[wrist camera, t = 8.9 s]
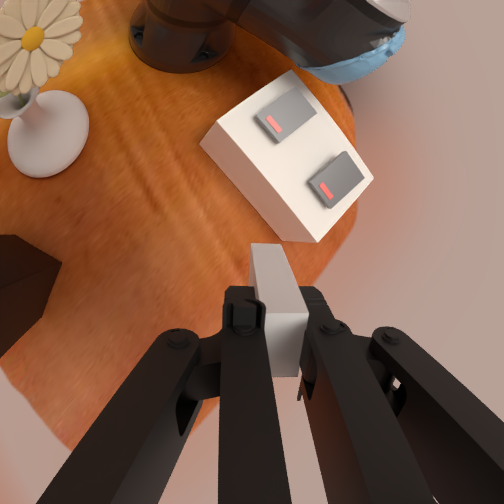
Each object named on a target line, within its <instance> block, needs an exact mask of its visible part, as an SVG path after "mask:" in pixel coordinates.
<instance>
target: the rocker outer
mask: <svg viewBox="0 0 504 504" xmlns="http://www.w3.org/2000/svg"><path fill="white" fill-rule="evenodd" d="M364 178H365V177H364V176H363V174H362V173H361V171H360V170H359V168H358V167H357V165H356V164H355V163H354V161H353V160H352V158H351V157H350V155H349V154H348V153H347V151H342V152H341V153H340V154H339V155H338V156H336V157H335V158H334V159H333V160H332V161H331V162H329V163H328V164H327V165H326V166H325V167H324V168H322V169H321V170H320V171H319V172H318V173H317V174H315V175H314V176H313V177H312V178H311V179H310V180H309V181H307V182H308V184H309V185H310V186H311V188H312V189H313V190H314V191H315V193H316V194H317V195H318V197H319V198H320V199H321V201H322V202H323V203H324V205H325V206H326V207H327V208H328V209H332V208H333V207H334V206H335V205H336V204H337V203H338V202H339V201H340V200H342V199H343V198H344V197H345V196H346V195H347V194H348V193H349V192H350V191H351V190H352V189H353V188H355V187H356V186H357V185H358V184H359V183H360V182H361V181H362V180H363V179H364Z"/></svg>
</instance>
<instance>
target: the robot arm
mask: <svg viewBox="0 0 504 504" xmlns="http://www.w3.org/2000/svg"><path fill="white" fill-rule="evenodd" d="M410 1H411V0H142V1H141V3H140V4H139V6H138V7H137V9H136V10H135V12H134V14H133V16H132V18H131V21H130V27H129V41H130V44H131V47H132V49H133V51H134V52H135V54H136V55H137V56H138V57H139V58H140V59H141V60H142V61H143V62H145V63H146V64H148V65H150V66H152V67H154V68H156V69H159V70H162V71H166V72H172V73H191V72H197V71H201V70H204V69H206V68H209V67H211V66H213V65H214V64H216V63H217V62H219V61H220V60H221V59H222V58H223V57H224V56H225V55H226V53H227V52H228V50H229V48H230V47H231V45H232V43H233V41H234V38H235V34H236V25H238V26H240V27H241V28H243V29H245V30H246V31H248V32H250V33H251V34H253V35H255V36H256V37H258V38H259V39H261V40H263V41H264V42H266V43H267V44H269V45H270V46H272V47H274V48H275V49H277V50H278V51H280V52H281V53H283V54H284V55H285V56H287V57H288V58H290V59H291V60H293V61H294V63H295V65H296V66H298V67H299V68H301V69H303V70H307V71H308V72H309V73H311V74H312V75H314V76H315V77H317V78H318V79H320V80H321V81H323V82H326V83H329V84H334V85H339V84H346V83H349V82H353V81H355V80H357V79H360V78H362V77H364V76H366V75H368V74H369V73H371V72H373V71H374V70H376V69H377V68H379V67H380V66H382V65H383V64H384V63H385V62H386V61H387V58H388V57H390V56H392V55H394V54H395V53H396V52H397V51H398V50H399V48H400V47H401V46H402V44H403V42H404V40H405V30H404V28H403V24H404V23H406V22H407V21H408V20H409V19H410ZM299 367H300V368H301V371H302V377H301V382H300V387H299V391H298V396H297V401H300V399H301V395H303V399H304V403H305V407H306V411H307V415H308V420H309V424H310V428H311V433H312V436H313V440H314V445H315V449H316V454H317V457H318V462H319V466H320V471H321V475H322V479H323V483H324V488H325V492H326V497H327V501H328V504H438V503H439V504H504V422H503V421H502V420H501V419H499V418H498V417H497V416H496V415H495V414H494V413H493V412H492V411H491V410H490V409H489V408H488V407H487V406H486V405H485V404H484V403H482V402H481V401H480V400H479V399H478V398H477V397H476V396H475V395H474V394H473V393H472V392H471V391H469V390H468V389H467V388H466V387H465V386H464V385H463V384H462V383H461V382H459V381H458V380H457V379H456V378H455V377H454V376H453V375H452V374H451V373H450V372H448V371H447V370H446V369H445V368H444V367H443V366H442V365H441V364H440V363H438V362H437V361H436V360H435V359H434V358H433V357H432V356H431V355H429V354H428V353H427V352H426V351H425V350H424V349H422V348H421V347H420V346H419V345H418V344H417V343H416V342H414V341H413V340H412V339H411V338H410V337H409V336H408V335H406V334H405V333H404V332H402V331H401V330H399V329H396V328H394V327H379V328H377V329H376V330H374V332H373V334H372V337H364V336H358V335H354V334H352V332H351V330H350V328H349V327H348V326H347V325H346V324H345V323H343V322H342V321H340V320H336V319H335V318H334V316H333V314H332V312H331V310H330V308H329V306H328V305H327V303H326V301H325V300H324V297H323V295H322V293H321V292H320V291H319V290H318V289H316V288H315V287H314V286H298V285H297V282H296V280H295V277H294V275H293V272H292V270H291V267H290V265H289V263H288V260H287V258H286V255H285V253H284V251H283V248H282V246H281V244H261V243H251V250H250V269H249V286H229V288H228V289H227V290H226V291H225V298H224V304H223V317H222V329H221V330H220V332H218V333H217V334H215V335H213V336H211V337H206V338H201V339H199V337H198V335H197V334H196V333H194V332H193V331H190V330H187V329H179V328H177V329H170V330H167V331H165V332H163V333H161V334H160V335H159V336H158V337H157V338H156V340H155V341H154V342H153V344H152V345H151V346H150V348H149V349H148V350H147V352H146V353H145V354H144V356H143V357H142V358H141V360H140V361H139V362H138V363H137V365H136V366H135V367H134V369H133V370H132V371H131V373H130V374H129V375H128V377H127V378H126V379H125V381H124V382H123V383H122V385H121V386H120V387H119V389H118V390H117V391H116V393H115V394H114V396H113V397H112V398H111V400H110V401H109V402H108V404H107V405H106V406H105V408H104V409H103V410H102V412H101V413H100V414H99V416H98V417H97V419H96V420H95V421H94V423H93V424H92V425H91V427H90V428H89V430H88V431H87V432H86V434H85V435H84V436H83V438H82V439H81V441H80V442H79V443H78V445H77V446H76V448H75V449H74V450H73V452H72V453H71V455H70V456H69V458H68V459H67V460H66V462H65V463H64V464H63V466H62V467H61V469H60V470H59V472H58V473H57V474H56V476H55V477H54V478H53V480H52V482H51V483H50V484H49V486H48V487H47V488H46V490H45V492H44V493H43V494H42V496H41V497H40V499H39V500H38V501H37V503H36V504H158V502H159V500H160V498H161V496H162V493H163V491H164V489H165V487H166V485H167V482H168V480H169V478H170V476H171V473H172V471H173V469H174V467H175V465H176V462H177V460H178V458H179V456H180V454H181V451H182V449H183V447H184V445H185V442H186V440H187V438H188V436H189V433H190V431H191V429H192V427H193V424H194V422H195V420H196V417H197V415H198V413H199V411H200V408H201V406H202V403H203V400H204V399H209V398H214V397H218V396H220V410H219V456H218V457H219V458H218V504H292V502H291V495H290V489H289V483H288V477H287V470H286V464H285V458H284V451H283V445H282V438H281V432H280V426H279V420H278V413H277V407H276V400H275V394H274V387H273V382H272V377H298V372H299ZM395 378H397V380H398V381H399V382H400V383H401V384H400V386H399V388H398V389H397V388H396V387H395V386H394V385H393V382H394V380H395ZM432 495H433V496H434V497H435V499H436V500H437V501H438V503H437V502H436V501H435V500H434V498H433V496H432Z"/></svg>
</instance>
